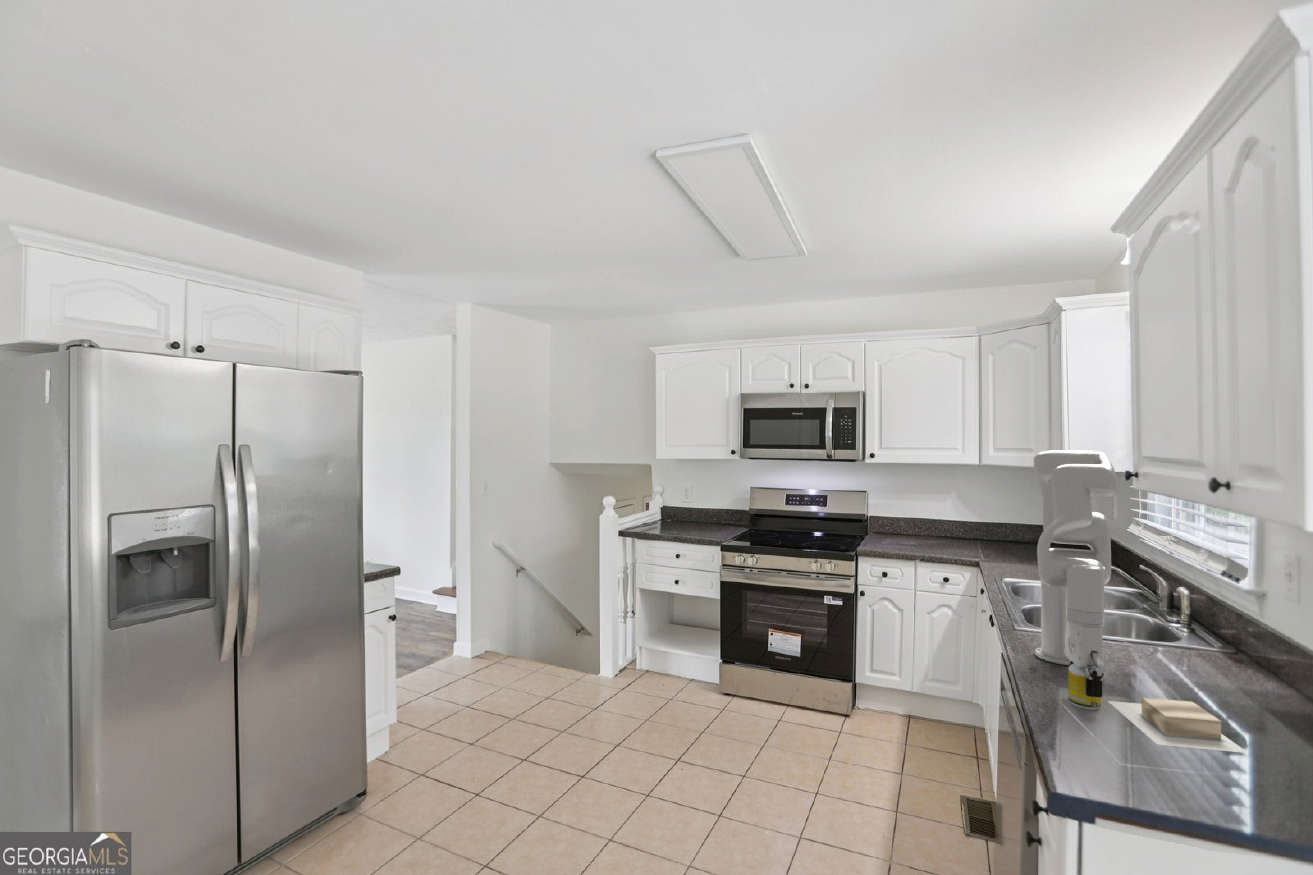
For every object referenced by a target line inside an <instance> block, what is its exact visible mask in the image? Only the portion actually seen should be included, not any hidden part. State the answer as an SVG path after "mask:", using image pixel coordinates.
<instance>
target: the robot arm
mask: <svg viewBox="0 0 1313 875" xmlns="http://www.w3.org/2000/svg"><path fill="white" fill-rule="evenodd" d="M1033 471H1034V475H1035V478H1036V480H1037V483H1038V485H1039V487H1040V490H1041V493H1042V518H1043V519H1042V522H1043V523H1042V524H1043V527H1042V528H1043V531H1042V532H1041V534H1040V536H1039V538H1038V543H1037V547H1036V553H1037V568H1038V570H1037V571H1038V575H1039V578H1040V589H1041V590H1040V592H1041V596H1040V597H1041V598H1040V602H1041V605H1040V606H1041V609H1040V610H1041V614H1040V615H1041V619H1040V620H1041V624H1040V625H1041V626H1040V629H1041V636H1040V637H1041V639H1040V642H1041V644H1040V645H1041V646H1040V647H1037V648H1035V650H1034V654H1035V656H1036V657H1037V658H1039V659H1041V660H1043V659H1044V660H1043V661H1046V662H1049V663H1053V664H1058V665H1063V666H1065V665H1066V666H1068V667H1069V666H1070V665H1071V664H1076V665H1077V666H1078V667H1080V668H1083V667H1085V670H1086V673H1087V677H1088V678H1086V695H1087V696H1089V697H1101V698H1103V681H1104V670H1105V665H1104V660H1105V659H1104V657H1105V656H1104V640H1103V629H1102V628H1103V627H1104V626H1105V585H1106V584H1108V583H1109V581H1110V580H1111V576H1112V548H1111V547H1112V546H1111V544H1112V542H1111V541H1112V540H1111V528H1110V523H1109V520H1108V518H1107V517H1106V515H1104V514H1103V513H1101V512H1097V511H1093V506H1092V497H1101V498H1102V497H1103V498H1104V497H1105V498H1107V497H1109V498H1110V497H1112V496H1114V495H1115V494H1116V492H1117V489H1118V478H1117V474H1116V471H1115V468H1114V466H1113V464H1112V463H1111V461H1110V460H1109V458H1108V456H1107V455H1106V454H1105V452H1102V451H1095V450H1046V451H1041V452H1038V453H1037V454H1036V455H1035V457H1034V459H1033ZM1052 543H1055V544H1063V545H1064V544H1065V545H1066V544H1067V545H1075V546H1077V545H1079V546H1087V547H1089V548H1090V549H1075V548H1063V547H1051V544H1052ZM1088 664H1089V665H1088ZM1092 665H1094V666H1092ZM1090 670H1094V671H1093V672H1092V673H1091V671H1090Z"/></svg>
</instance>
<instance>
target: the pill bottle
mask: <svg viewBox="0 0 1313 875" xmlns="http://www.w3.org/2000/svg"><path fill="white" fill-rule="evenodd" d="M1088 665H1089V664H1088ZM1092 666H1094V665H1092ZM1090 671H1091V673H1092V672H1093V671H1094V670H1090ZM1086 678H1088V677H1087V673H1086V670H1085V667H1083V668H1080V667H1078V666H1077V665H1076V664H1071V665H1070V666H1069V665H1068V702H1069V703H1070V704H1072V705H1073V706H1076V707H1077V708H1081V709H1087V710H1099V709H1101V708H1102V697H1089V696H1087V695H1086Z"/></svg>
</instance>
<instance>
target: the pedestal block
mask: <svg viewBox="0 0 1313 875" xmlns="http://www.w3.org/2000/svg"><path fill="white" fill-rule="evenodd" d="M1141 704H1142V716H1143V717H1145V718H1146V719H1147V720H1148V721H1149V722H1151V723H1152V724H1153V725H1154V726H1156V727H1157V728H1158V729H1159V730H1160V731H1162V732H1163V733H1164V734H1165V735H1169V736H1180V737H1191V738H1202V739H1213V740H1221V734H1222V720H1220V719H1219V718H1217V717H1216V716H1214V715H1213V714H1211V713H1210V712H1208V711H1207V710H1206V709H1204V708H1202V707H1201V706H1200V705H1198V704H1197V703H1195V702H1193V701H1188V700H1179V699H1178V700H1177V699H1166V698H1164V699H1162V698H1154V697H1153V698H1151V697H1141Z"/></svg>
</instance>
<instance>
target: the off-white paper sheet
mask: <svg viewBox="0 0 1313 875" xmlns="http://www.w3.org/2000/svg"><path fill="white" fill-rule="evenodd" d="M1107 703H1109V704H1110V705H1112V706H1113V708H1114V709H1116V710H1117V711H1118V712H1119V713H1121V715H1123V716H1124V717H1125V718H1126V719H1127V720H1129V721H1130V723H1132V724H1133V725H1134V726H1135V727H1137V728H1138V729H1139V730H1140V731H1141V732H1142V733H1144V735H1146V736H1147V737H1148V738H1149V739H1150V740H1152V741H1153V742H1154V743H1155V744H1156V745H1157V746H1158V745H1159V746H1171V747H1181V748H1191V749H1198V750H1199V749H1202V750H1210V751H1212V750H1213V751H1221V752H1222V751H1223V752H1234V753H1245V754H1249V752H1248V751H1247V750H1246V749H1244V748H1243V747H1241V746H1240V745H1239V744H1236V743H1235V742H1234V741H1233V740H1232V739H1229V738H1228V737H1227V736H1225V735H1224V734H1222V733H1221V740H1213V739H1202V738H1191V737H1180V736H1169V735H1165V734H1164V733H1163V732H1162V731H1160V730H1159V729H1158V728H1157V727H1156V726H1154V725H1153V724H1152V723H1151V722H1149V721H1148V720H1147V719H1146V718H1145V717H1143V716H1142V703H1138V702H1136V703H1135V702H1124V701H1123V702H1122V701H1113V700H1107Z"/></svg>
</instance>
